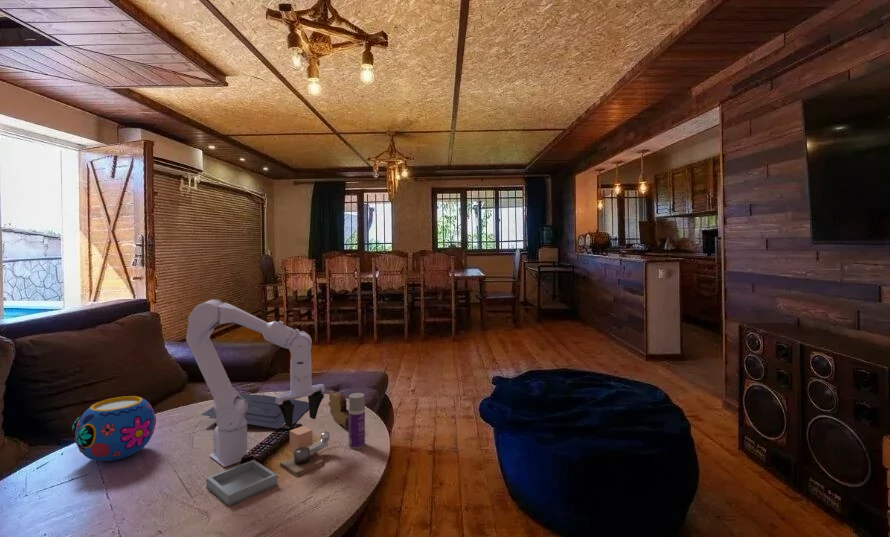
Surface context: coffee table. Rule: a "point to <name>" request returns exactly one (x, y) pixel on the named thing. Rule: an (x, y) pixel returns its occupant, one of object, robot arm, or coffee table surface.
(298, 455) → the crank
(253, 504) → the coffee table surface
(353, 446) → the container
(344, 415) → the wooden carving
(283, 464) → the crank base
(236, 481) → the tray
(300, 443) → the block
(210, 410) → the dark grey flat slab
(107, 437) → the ceramic pot
